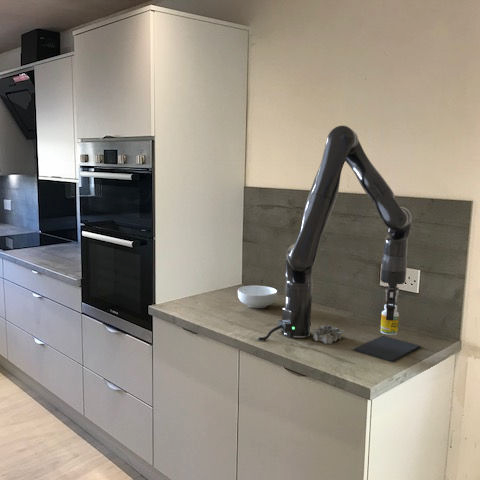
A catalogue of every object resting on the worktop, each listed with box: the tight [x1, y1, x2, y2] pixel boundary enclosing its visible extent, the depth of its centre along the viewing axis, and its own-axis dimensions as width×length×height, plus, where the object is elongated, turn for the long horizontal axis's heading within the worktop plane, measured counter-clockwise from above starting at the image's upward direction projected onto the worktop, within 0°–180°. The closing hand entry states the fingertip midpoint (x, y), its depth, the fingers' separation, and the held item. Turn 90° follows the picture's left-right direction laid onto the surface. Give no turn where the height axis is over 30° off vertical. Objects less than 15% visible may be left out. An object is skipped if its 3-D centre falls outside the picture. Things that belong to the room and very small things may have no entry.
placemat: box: [353, 335, 421, 363], centre depth 177 cm, size 20×13×1 cm, turn 131°
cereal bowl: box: [237, 285, 278, 309], centre depth 226 cm, size 17×17×7 cm
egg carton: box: [311, 323, 344, 345], centre depth 186 cm, size 11×8×4 cm
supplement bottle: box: [380, 303, 400, 336], centre depth 175 cm, size 5×5×10 cm
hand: (389, 317), depth 175 cm, fingers closed on supplement bottle, 5 cm apart
